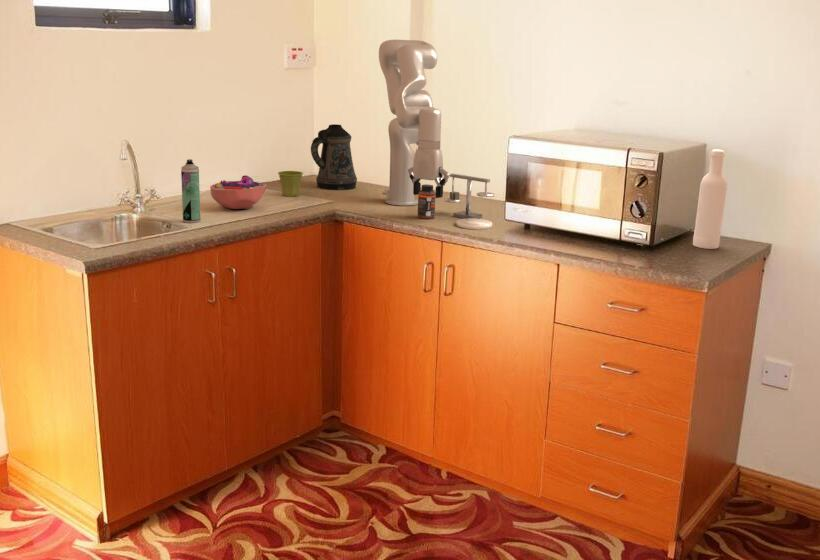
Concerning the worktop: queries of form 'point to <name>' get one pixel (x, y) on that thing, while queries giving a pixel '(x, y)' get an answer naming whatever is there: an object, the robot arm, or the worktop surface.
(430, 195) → the supplement bottle
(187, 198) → the spray can
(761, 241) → the worktop surface
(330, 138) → the beer stein
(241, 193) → the cell model
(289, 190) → the plant pot
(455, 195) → the balance
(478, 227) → the dish
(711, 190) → the bottle
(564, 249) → the worktop surface
